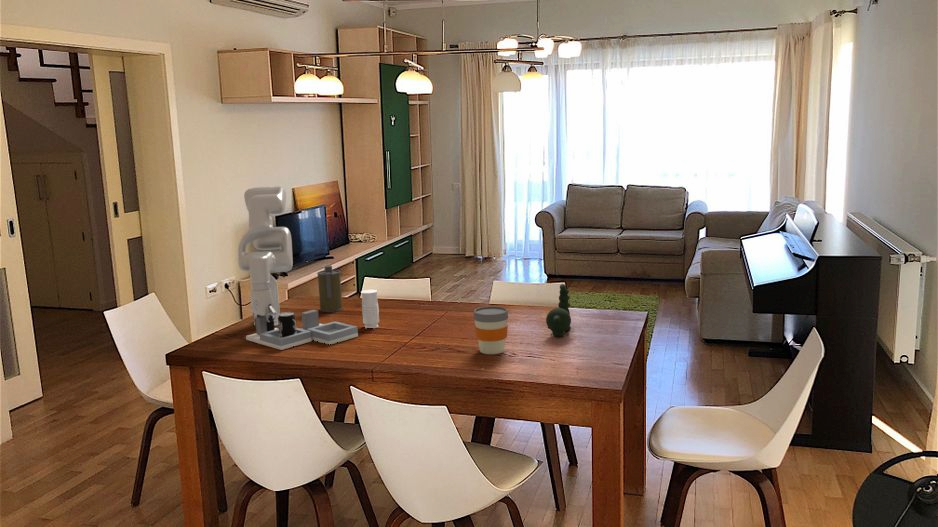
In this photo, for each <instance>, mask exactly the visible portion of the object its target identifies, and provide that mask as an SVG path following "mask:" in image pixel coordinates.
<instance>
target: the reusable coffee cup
mask: <svg viewBox="0 0 938 527" xmlns="http://www.w3.org/2000/svg"><path fill="white" fill-rule="evenodd" d="M508 319H509V312H508V309H507V308H506V307H502V306H494V305H493V306H490V305H489V306H482V307H478V308H477V307H476V308H475V309H474V310H473V321H474V324H475V325H474V330H475V337H476V340H477V341H478V342H477V343H478V349H479V352H480V353H482V354H484V355H497V354H502V353H504V352H505V345H506V339H507V337H508V327H509V324H508Z"/></svg>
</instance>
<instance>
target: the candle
mask: <svg viewBox="0 0 938 527" xmlns="http://www.w3.org/2000/svg"><path fill="white" fill-rule="evenodd" d="M360 293H361V312H362V313H361V314H362V324H364V326H363V327H365V328H364V329H367V328H373V329H377V328H379V324H378V323H379V322H380V314H379V313H380V312H379V308H380V307H379V303H378V290H377V289H363V290H361V291H360Z"/></svg>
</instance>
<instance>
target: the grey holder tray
mask: <svg viewBox="0 0 938 527" xmlns="http://www.w3.org/2000/svg"><path fill="white" fill-rule="evenodd" d="M268 317H270V316H268ZM255 321H256V328H255V330H256V333H253V334H248V335H245V340H246V341H250V342H253V343H257V344H259V345H263V346H267V347H270V348H273V349H277V350H280V351H282V350H286V349H289V348H293V346H294V347H297V346H300V345H303V344H306V343H311V342H312V341H313V340H312V339H311V331H308V330H304V329H302V328H300V327H296V331H297V334H293V335H290V336H286V337H283V338H281V337H279V327H274V329H275V330H272V331H268V332H267V326H266V322H267V320H266V317H265V316H258V317H255V319H254V322H255Z"/></svg>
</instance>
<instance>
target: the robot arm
mask: <svg viewBox="0 0 938 527" xmlns="http://www.w3.org/2000/svg"><path fill="white" fill-rule="evenodd" d="M243 194H244V195H243V197H244V198H243V199H244V203H245V207H246V209H247V211H248V230H247V231H246V232H245V233H244V235H243V236H242V237H241V239H240V241H239V243H238V248H237V252H238V253H237V257H238V258H237V262H238V268H239V269H240V271H242V272H249V275H250V276H249V279H250V287H251V288H250V311H251V313H252V315H253V319H254V321H253V325H254V328H255V329H256V321H255V317H258V316H265V317H266V320H267V322H266V326H267V332H268V331H272V330H275V329H274V328H275V327H277V326H278V317H279V314H280V313H281V310H280V299H279V288H278V287H279V286H278V282H277V279H276V278H275V277H274V276H273V275H272V274H274V273H284V272H289V271H291V270H292V268H293V264H294V262H293V260H294V259H293V241H292V234H291V231H290V229H289V228H288V227H287V226H274V225H273V224H274V221H273V217H272V216H271V215H282V214H283V213H284V212H285V209H286V202H287V193H286V190H285V188H284V187H282V186H279V185H278V186H260V187H252V188H248V189H246V190H245V192H244V193H243ZM251 243H253V247H254V248H255V249H256V250H258V251H253V252H252V251H250V252H249V251H248V252H246V251H247V248H248V246H249V245H250V244H251ZM268 316H270V317H268Z"/></svg>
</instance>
